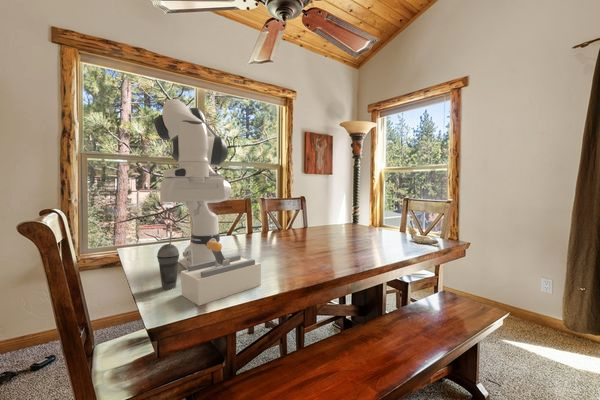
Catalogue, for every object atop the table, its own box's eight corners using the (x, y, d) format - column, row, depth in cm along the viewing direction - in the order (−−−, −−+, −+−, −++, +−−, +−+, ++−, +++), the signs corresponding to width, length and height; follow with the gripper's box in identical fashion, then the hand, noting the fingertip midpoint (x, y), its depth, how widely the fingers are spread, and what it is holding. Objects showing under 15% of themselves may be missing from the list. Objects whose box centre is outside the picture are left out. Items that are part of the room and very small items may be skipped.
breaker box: (181, 294, 95) (180, 262, 94) (241, 277, 112) (241, 250, 112) (198, 305, 87) (198, 270, 86) (260, 285, 104) (260, 255, 103)
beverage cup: (162, 283, 105) (161, 230, 104) (183, 283, 106) (181, 230, 104) (154, 291, 98) (152, 233, 97) (176, 290, 99) (174, 233, 97)
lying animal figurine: (412, 239, 188) (412, 224, 188) (442, 245, 170) (442, 229, 169) (403, 240, 184) (403, 225, 183) (433, 247, 166) (433, 230, 165)
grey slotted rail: (187, 270, 95) (187, 265, 95) (238, 258, 110) (238, 254, 110) (203, 277, 88) (203, 272, 88) (255, 264, 103) (255, 260, 102)
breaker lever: (214, 263, 100) (204, 243, 96) (221, 258, 101) (212, 238, 98) (222, 266, 96) (212, 245, 93) (229, 261, 98) (219, 240, 95)
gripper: (218, 173, 100) (219, 212, 101) (157, 171, 85) (158, 217, 86) (228, 172, 95) (229, 213, 96) (165, 170, 81) (167, 219, 81)
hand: (195, 215), depth 91 cm, fingers closed
